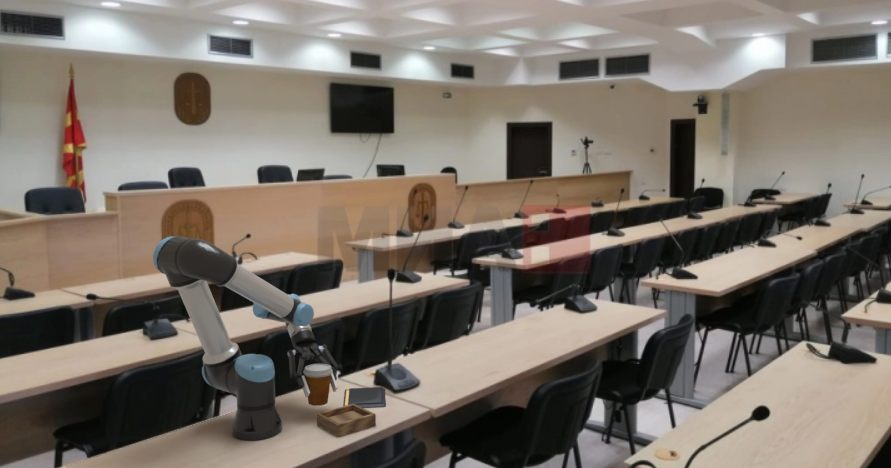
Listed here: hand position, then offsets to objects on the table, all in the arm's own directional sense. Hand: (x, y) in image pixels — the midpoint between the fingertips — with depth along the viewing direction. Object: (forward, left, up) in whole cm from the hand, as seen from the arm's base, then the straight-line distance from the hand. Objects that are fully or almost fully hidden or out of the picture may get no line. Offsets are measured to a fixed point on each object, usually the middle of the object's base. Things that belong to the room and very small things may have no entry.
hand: (322, 392), depth 235 cm
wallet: (+21, +7, -10) cm, 24 cm away
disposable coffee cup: (0, +3, -5) cm, 6 cm away
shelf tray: (+2, -10, -9) cm, 14 cm away
